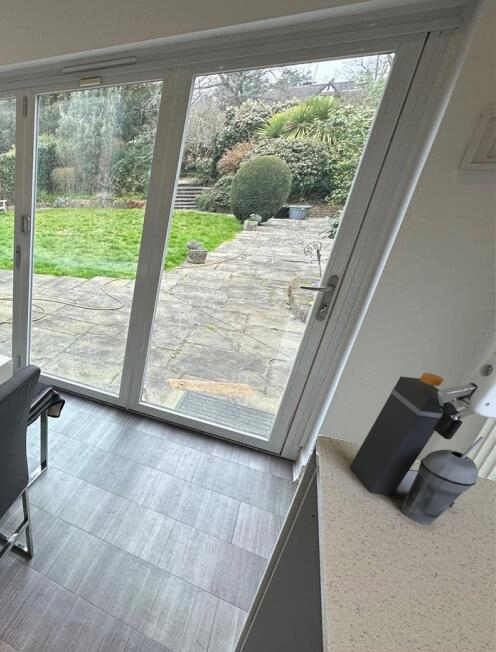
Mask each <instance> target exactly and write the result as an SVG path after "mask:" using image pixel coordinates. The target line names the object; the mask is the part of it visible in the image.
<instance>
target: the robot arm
mask: <svg viewBox="0 0 496 652" xmlns="http://www.w3.org/2000/svg"><path fill="white" fill-rule="evenodd" d="M454 399H456V400H455V401H454V402H453V400H454ZM438 400H439V401H438V404H439V406H440V407H441V410H442V411H443V412H444V413H443V414H442V416H441V417H440V419H439V420H438V422H437V423H436V425H435V426H434V430H435V431H434V432H436V433H437V434H438V435H439V436H440V437H442V438H443V439H444V440H451V439H452V438H453V437H454V436H455V435H456V433H457V432H458V430H459V429H460V427H461V426H462V425H463V421H462V420H461V419H464V418H466V417H468V416H471V415H473V414H475V415H477V416H479V417H483V418H488V419H494V420H495V419H496V352H492V353H491V354H489V356H487V357H486V358H485V359H484V360H483V361H482V362H481V363H480V364H479V365H478V367H476V369H474V371H473V372H472V373H471V374H470V376H469V377H468V378H467V379H466V380H465V382H464V383H463V385H458V386H453V387H448V388H442V389H439V391H438ZM462 407H464V408H462ZM460 408H461V409H460ZM458 409H460V410H458Z"/></svg>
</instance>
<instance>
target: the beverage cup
mask: <svg viewBox="0 0 496 652" xmlns="http://www.w3.org/2000/svg"><path fill="white" fill-rule="evenodd" d="M484 440H485V437H484V436H481V435H480V437H479V438H477V440H476V441H475V442H473V444H472V445H471V446H470V447H469V448H468V449H467V450H466V451H465V452H463V453H462V452H459V451H457V450H452V449H438V450H435V451H431V452H429V453H428V454H427V455H425V456H424V457H422V459H420V461H419V463H420V464H419V466H418V469H417V471H418V473H417V475H416V478H415V480H414V482H413V484H412V486H411V488H410V490H409V492H408V494H407V496H406V498H405V500H403V502H402V505H401V508H400V511H401V512H402V514H403V515H404V516H405V517H407V518H408V519H409V520H412V521H413V522H415V523H418V524H421V525H426V526H427V525H428V526H429V525H431V524H432V523H433V522H434V521H436V520H437V519H438V518H439V517H440V516H441V515H442V514H443V513H444V512H445V511H446V510H447V509H448V508H450V507H449V506H450V505H451V504H452V503H453V502H455V501H456V500H457V499H458V498H459V497H460V496H461V495H462V494H463V493H464V492H467V491H468V490H470V489H471V487H472V486H475V485H476V483H477V479H478V477H479V469H478V467H477V465H476V463H475V462H474V460H473V459H471V457H469V455H470V454H471V453H472V452H473V451H474V450H475V449H476V448H477V447H478V446H479V445H480V444H481V443H482V442H483V441H484Z"/></svg>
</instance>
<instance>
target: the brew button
mask: <svg viewBox="0 0 496 652" xmlns="http://www.w3.org/2000/svg"><path fill="white" fill-rule="evenodd" d="M419 379H420V380H421V381H422V382H424V383H426V384H429V385H433V386H434V387H439V386H441V384H442V383H443V381H444V378H443V377H442V376H440V375H437V374H433V373H429V372H424V373H422V375H420V377H419Z"/></svg>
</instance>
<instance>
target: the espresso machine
mask: <svg viewBox="0 0 496 652" xmlns="http://www.w3.org/2000/svg"><path fill="white" fill-rule="evenodd" d="M439 390H440V389H439V388H437V386H434V385H429V384H426V383H424V382H422V381H421V380H420V377H419V378H417V377H409V376H400V377H399V378H398V380H397V382H396V383H395V386H394V387H393V388H392V390H391V391H390V394H389V396H388V398H387V399H386V401H385V403H384V405H383V407H382V409H381V410H380V412H379V414H378V416H377V417H376V418H375V421H374V423H373V424H372V426H371V428H370V430H369V432H368V434H367V435H366V436H365V439H363V442H362V444H361V446H360V448H359V449H358V451H357V452H356V454H355V456H354V458H353V460H352V462H351V463H350V465H349V469H350V470H351V471H352V472H353V474H354V475H355V476H356V477H357V478H358V480H359V481H360V482H361V483H362V485H363V486H364V487H365V489H366V490H367V491H368V492H369V493H370V494H375V495H382V496H387V497H392V498H393V499H396V500H397V499H398V500H402V501H404V500H405V498H406V496H407V494H408V492H409V490H410V488H411V486H412V484H413V482H414V480H415V478H416V475H417V473H418V470H416V469H415V470H414V469H411V468H412V467H413V465H414V464H415V462H416V460H418V458H419V456H420V454H421V453H422V451H423V450H424V448H425V447H426V445H427V444H428V442H429V440H430V439H431V438H432V436H433V434H434V433H435V432H436V431H435V430H434V426H435V425H436V423H437V422H438V420H439V419H440V417H441V416H442V414H443V413H444V412H443V411H442V410H441V407H440V406H439V404H438V401H439V400H438V391H439ZM454 401H456V400H454V399H453V402H454ZM454 505H455V501H454V502H453V503H452V504H451V505H450V506H449V507H448V508H452V507H453V506H454Z"/></svg>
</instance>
